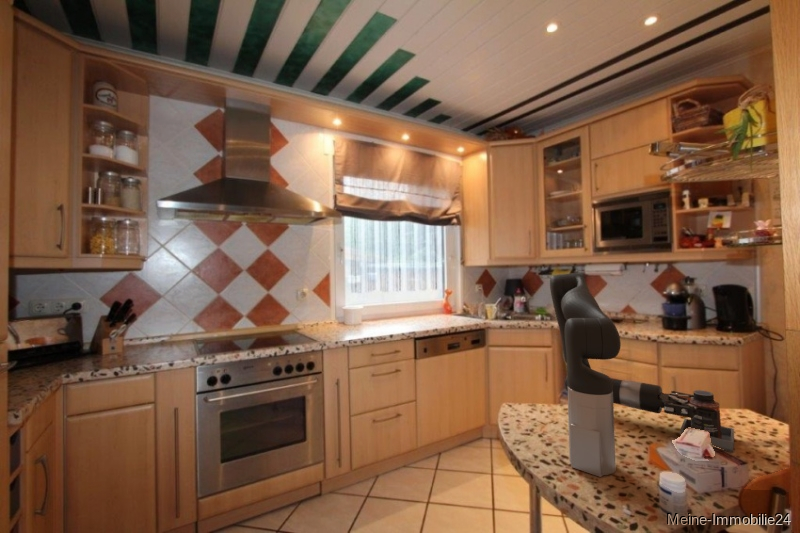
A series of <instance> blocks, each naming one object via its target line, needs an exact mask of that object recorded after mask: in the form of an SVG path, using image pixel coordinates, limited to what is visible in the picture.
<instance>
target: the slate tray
mask: <svg viewBox="0 0 800 533" xmlns="http://www.w3.org/2000/svg"><path fill="white" fill-rule="evenodd" d="M688 427H691V418H684V419H683V421H682V425H681V427H680V430H679V434H680V435H681V434H682V433H683V432H684V430H685V429H686V428H688ZM721 433H722V438H721V439H720V438H715V437H711V436H710V438H711V443H712V445H714V446H716V447H719V448H721V449H724V450H726V451H725V452H729V453H734V452H735V429H734V428H731V427H727V426H723V425H721ZM680 435H679V436H680ZM724 450H723V451H724Z"/></svg>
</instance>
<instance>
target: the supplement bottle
mask: <svg viewBox="0 0 800 533" xmlns="http://www.w3.org/2000/svg"><path fill="white" fill-rule="evenodd" d="M692 393H693V395H694V397H693V398H692V399H691V400H690V404H692V405H695V406H697V408H698V406H699V407H704V408H709V409H714V410H717V411H718V419H711V418H706V417H701V416H697V417H694V418H690V420H691V428H695V429H700V430H705V431H708V432H709V433H710V436H711V437H715V438H720V439H721V438H722V433H721V426H722V424H721V411H720V404H719V405H718V403H719V402H718V401H715V400H714V399H715V398H714V394H713V393H712V392H710V391H707V390H701V389H699V390H697V389H696V390H694V391H693V392H692ZM717 402H718V403H717Z"/></svg>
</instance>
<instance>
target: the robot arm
mask: <svg viewBox="0 0 800 533" xmlns="http://www.w3.org/2000/svg"><path fill="white" fill-rule="evenodd" d="M549 290H550V291H549V292H550V295H551V301H552V304H553V308H554V314H555V316H556V320H557V321H556V322H557V324H558V328H559V333H560V337H561V344H562V352H563V358H564V362H565V363H566V375H567V376H566V378H565V379H564V388H565V390H566V391H567V416H568V419H567V420H568V444H569V445H568V448H569V450H568V451H569V462H570V467H571V468H574V469H576V470H579V471H582V472H585V473H588V474H590V475H594V476H597V477H599V478H602V477H603V476H608V475H612V474H614V473H615V472H616V470H617V468H616V442H615V441H616V438H615V418H614V416H615V415H614V414H615V413H614V412H615V411H614V409H615V408H614V404H617V405H622V406H625V407H629V408H631V409H635V410H641V411H643V412H644V411H645V412H650V413H654V414H661V413H662V409H663V411H664V412H663V413H664V414H669V415H673V416H680V417H684V418H688V419H691V418H694V417H697V416H701V417H706V418H711V419H718V411H717V410H714V409H709V408H704V407H699V406H698V408H697V406H695V405H692V404H690V400H691V399H692V398H693V397H694V394H691V393H684V392H679V391H676V390H671V391H670V393H664V392H663V388H662V387H661V386H660V385H658V384H652V383H646V382H645V383H644V382H639V381H636V380H635V381H634V380H623V379H617V378H611V377H610V376H608V375H607V374H605V373H603V372H600V371H596V370H594V369H592V368H591V365H590V363H589V359H590V360H599V361H600V360H612V359H614V358H616V357H617V356H618V355H619V354H620V351H621V338H620V333H619V330H618V328H617V326H616V324H615V323H614V322H613V320H612V319H611V318H610V317H608V315H607V314H605V312H604V311H602V309H601V307H600V305H599V303H598V302H597V300H596V298H595V296H593V294H592V293H591V292H590V290H589V287H588V284H587V282H586V279H585V277H584V275H582V274H581V273H579V272H578V273H577V272H571V273H563V274H562V273H561V274H554V275H551V277H550V280H549ZM716 402H717V403H718V405H719V406H720V403H719V402H718V401H716Z"/></svg>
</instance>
